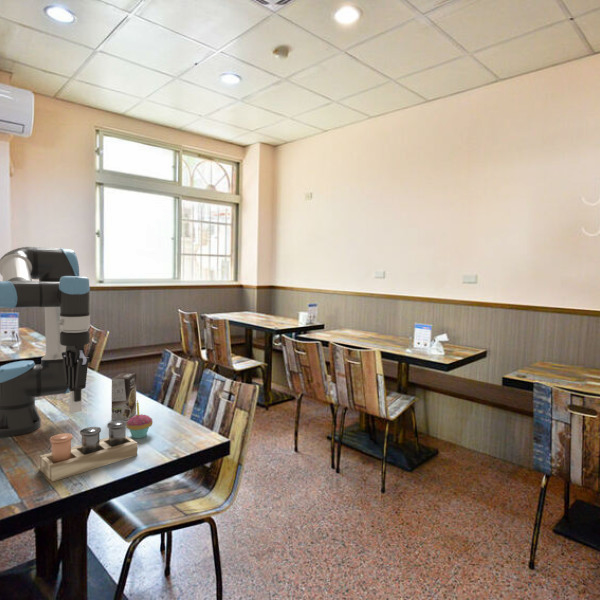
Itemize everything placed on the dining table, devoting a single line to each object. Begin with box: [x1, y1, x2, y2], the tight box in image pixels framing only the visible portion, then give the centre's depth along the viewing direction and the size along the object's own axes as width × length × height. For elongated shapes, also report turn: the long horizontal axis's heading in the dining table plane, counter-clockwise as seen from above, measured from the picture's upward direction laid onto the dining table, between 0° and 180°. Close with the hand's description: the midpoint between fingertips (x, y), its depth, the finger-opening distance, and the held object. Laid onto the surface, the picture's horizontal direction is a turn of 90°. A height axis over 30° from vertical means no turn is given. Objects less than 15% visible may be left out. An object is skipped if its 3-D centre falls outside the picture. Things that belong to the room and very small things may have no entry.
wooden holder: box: [39, 435, 138, 483], centre depth 127 cm, size 10×24×4 cm, turn 138°
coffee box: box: [111, 372, 137, 421], centre depth 166 cm, size 9×6×16 cm
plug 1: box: [79, 426, 102, 455], centre depth 127 cm, size 6×6×7 cm
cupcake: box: [126, 399, 154, 439], centre depth 148 cm, size 9×8×12 cm
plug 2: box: [106, 420, 127, 447], centre depth 133 cm, size 6×6×7 cm
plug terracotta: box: [49, 432, 74, 463], centre depth 121 cm, size 6×6×7 cm
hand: (75, 411), depth 123 cm, fingers closed
